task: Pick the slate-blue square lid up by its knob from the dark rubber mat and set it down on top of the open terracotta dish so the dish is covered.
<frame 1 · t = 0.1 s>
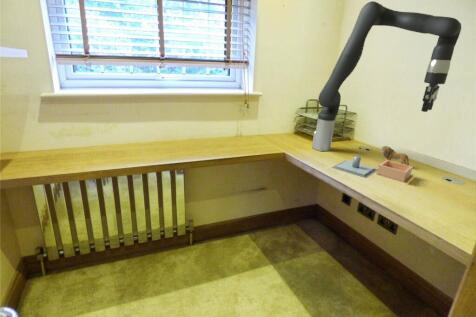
hand: (426, 110, 124), 29 cm above the worktop, fingers open, 8 cm apart
mat: (354, 169, 134), on the worktop
lid: (355, 168, 133), resting on mat
lion figurine: (392, 165, 143), on the worktop
dish: (393, 176, 128), on the worktop
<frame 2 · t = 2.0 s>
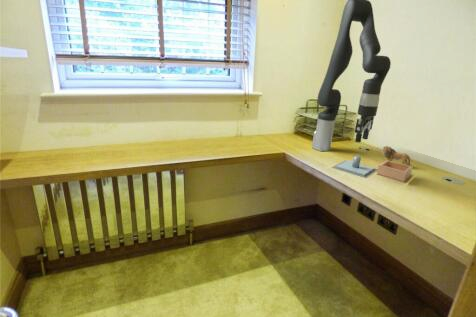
hand: (361, 140, 129), 14 cm above the worktop, fingers open, 8 cm apart
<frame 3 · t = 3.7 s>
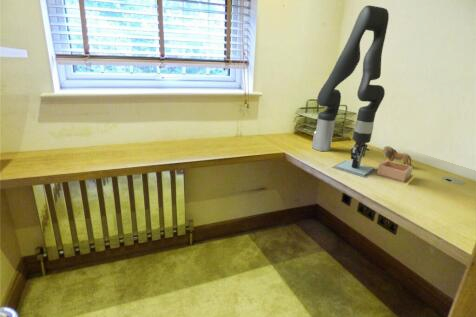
hand: (355, 166, 133), 1 cm above the worktop, fingers closed on lid, 3 cm apart
lid: (355, 168, 133), resting on mat, touching gripper
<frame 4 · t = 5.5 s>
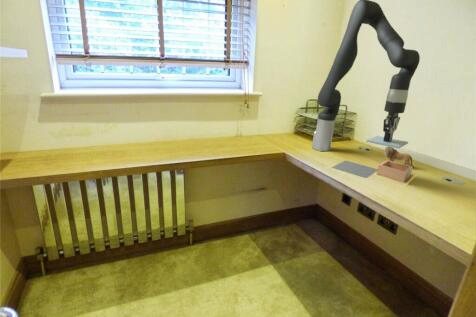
hand: (387, 140, 124), 16 cm above the worktop, fingers closed on lid, 3 cm apart
lid: (387, 142, 124), point 15 cm above the worktop, touching gripper
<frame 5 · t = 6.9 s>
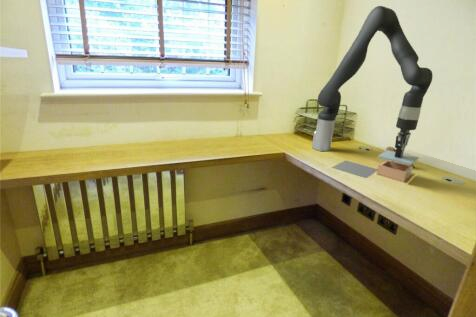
hand: (398, 156, 125), 10 cm above the worktop, fingers closed on lid, 3 cm apart
lid: (398, 158, 125), point 9 cm above the worktop, touching gripper
when the fingers open (7 cm above the worktop, at t = 7.6 s): lid drops 1 cm, resting on dish.
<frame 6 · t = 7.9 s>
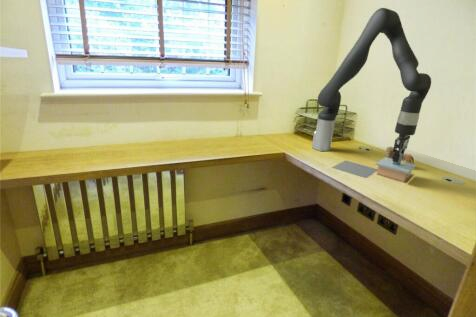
hand: (397, 159, 126), 8 cm above the worktop, fingers open, 6 cm apart
lid: (395, 165, 127), point 5 cm above the worktop, touching dish
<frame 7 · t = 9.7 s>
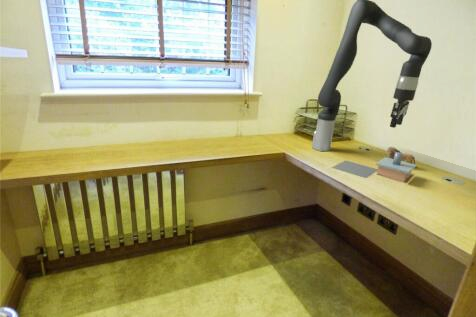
hand: (395, 125, 124), 22 cm above the worktop, fingers open, 8 cm apart
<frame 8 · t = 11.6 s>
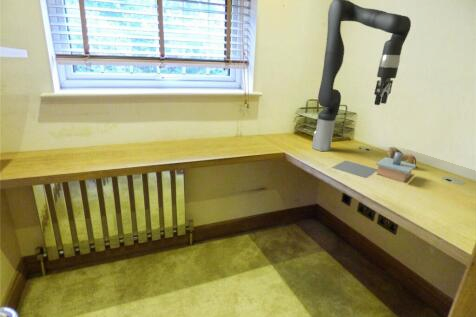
hand: (380, 104, 129), 30 cm above the worktop, fingers open, 8 cm apart
at the end: lid 0.0 cm off-centre on the dish, point 5.0 cm above the dish's base; lid tilted 0°; the gripper is holding nothing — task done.
